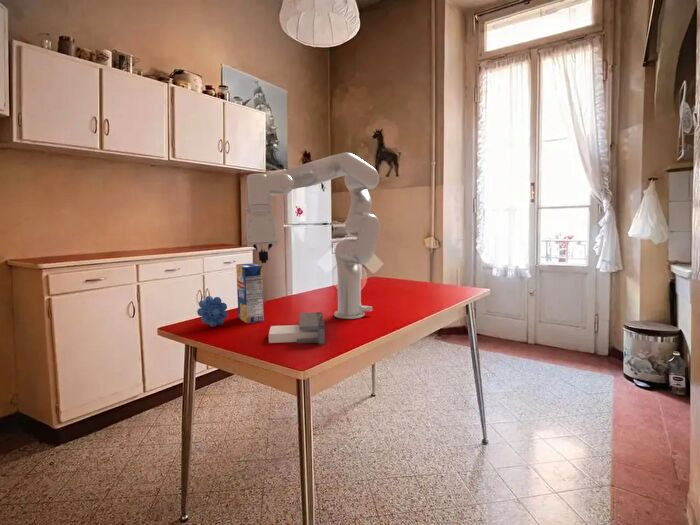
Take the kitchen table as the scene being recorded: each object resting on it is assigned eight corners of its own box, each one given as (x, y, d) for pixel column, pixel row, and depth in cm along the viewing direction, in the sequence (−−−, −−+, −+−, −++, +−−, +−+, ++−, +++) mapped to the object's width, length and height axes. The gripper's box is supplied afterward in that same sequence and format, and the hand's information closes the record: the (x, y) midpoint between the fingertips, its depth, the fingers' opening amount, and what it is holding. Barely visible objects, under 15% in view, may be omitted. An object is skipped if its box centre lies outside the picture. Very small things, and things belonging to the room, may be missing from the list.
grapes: (202, 332, 142) (200, 299, 140) (195, 328, 147) (193, 296, 145) (233, 326, 149) (231, 294, 148) (225, 322, 154) (224, 292, 153)
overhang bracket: (322, 328, 144) (322, 312, 144) (324, 344, 127) (324, 325, 126) (297, 329, 143) (297, 313, 143) (296, 345, 126) (296, 326, 125)
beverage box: (247, 323, 153) (244, 267, 150) (238, 317, 162) (236, 264, 159) (263, 320, 156) (262, 265, 154) (254, 315, 165) (252, 263, 163)
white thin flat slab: (317, 332, 140) (317, 324, 139) (318, 340, 130) (317, 332, 130) (271, 334, 138) (271, 326, 138) (268, 343, 129) (268, 334, 128)
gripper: (236, 211, 132) (240, 265, 134) (281, 209, 134) (285, 262, 136) (239, 211, 139) (243, 262, 142) (282, 209, 141) (285, 260, 144)
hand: (264, 262), depth 139 cm, fingers closed
